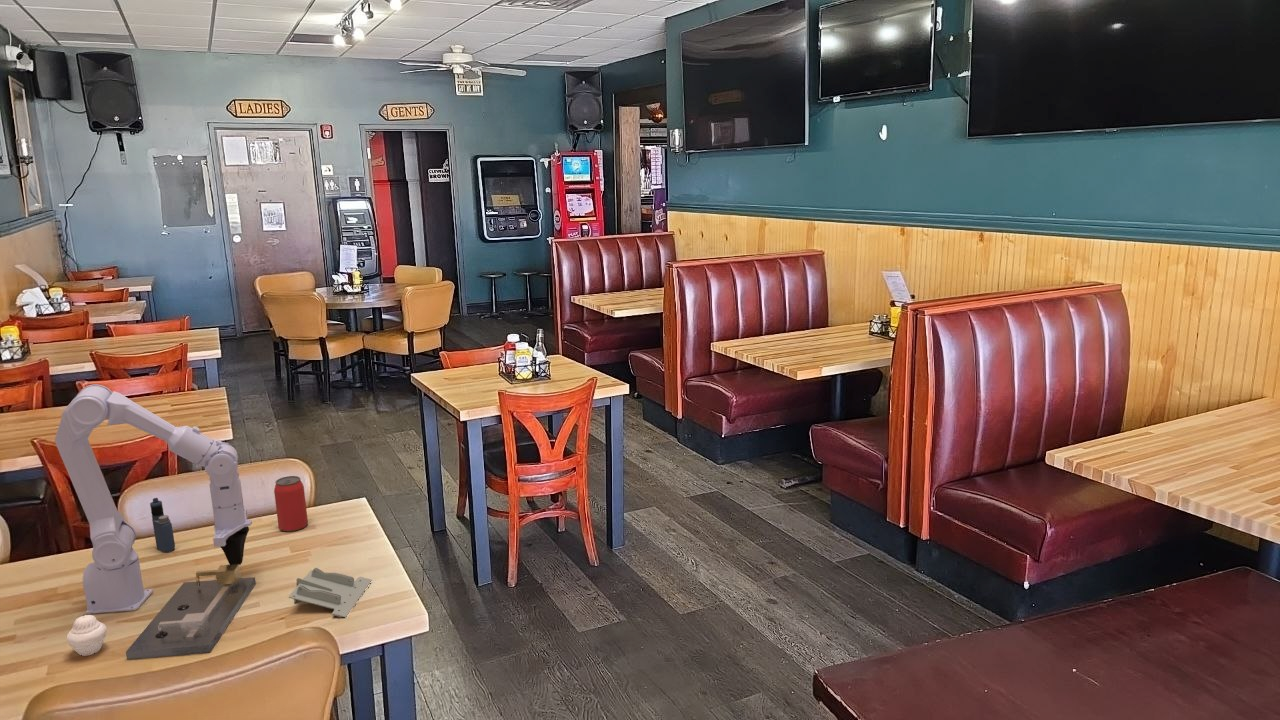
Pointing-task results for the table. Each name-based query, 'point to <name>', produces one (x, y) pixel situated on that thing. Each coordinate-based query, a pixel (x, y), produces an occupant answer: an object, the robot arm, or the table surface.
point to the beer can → (290, 503)
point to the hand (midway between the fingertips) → (236, 564)
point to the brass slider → (222, 574)
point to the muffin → (87, 635)
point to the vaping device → (162, 527)
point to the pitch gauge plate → (196, 606)
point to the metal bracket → (330, 590)
